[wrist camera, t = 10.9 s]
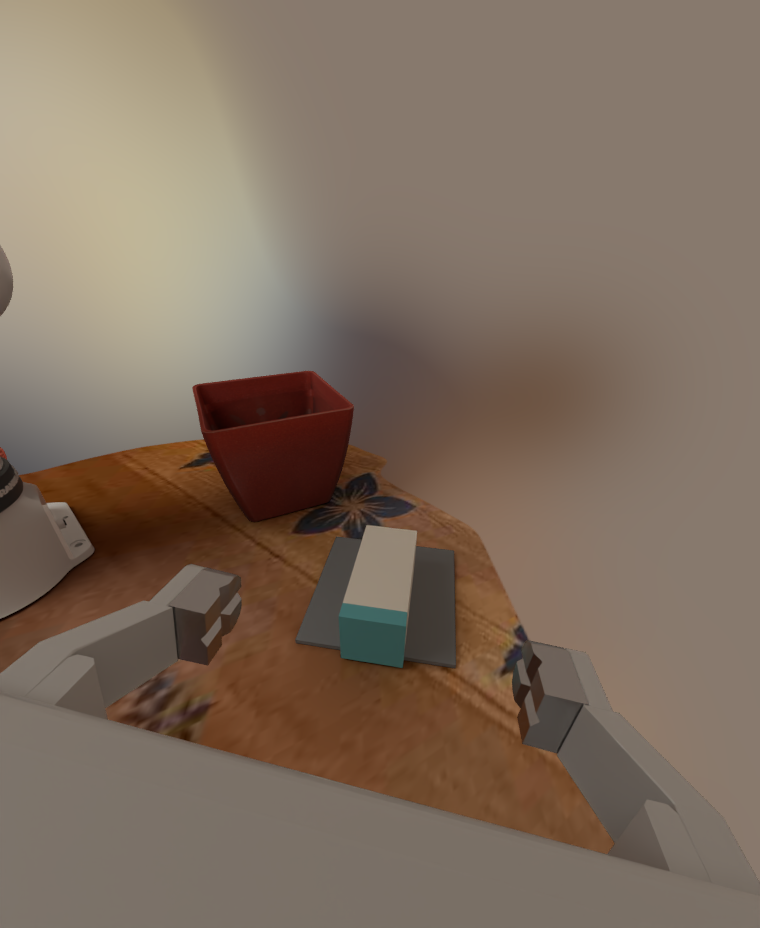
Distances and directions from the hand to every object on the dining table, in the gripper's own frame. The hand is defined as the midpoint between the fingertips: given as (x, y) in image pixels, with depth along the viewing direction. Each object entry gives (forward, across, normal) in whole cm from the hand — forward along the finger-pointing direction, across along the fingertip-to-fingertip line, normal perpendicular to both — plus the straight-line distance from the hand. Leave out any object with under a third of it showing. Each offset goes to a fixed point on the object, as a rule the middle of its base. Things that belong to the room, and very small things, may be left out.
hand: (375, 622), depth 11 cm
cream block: (+17, +1, +20) cm, 27 cm away
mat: (+27, 0, +22) cm, 35 cm away
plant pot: (+44, +20, +23) cm, 54 cm away
